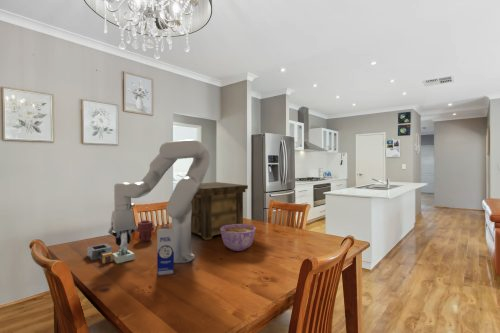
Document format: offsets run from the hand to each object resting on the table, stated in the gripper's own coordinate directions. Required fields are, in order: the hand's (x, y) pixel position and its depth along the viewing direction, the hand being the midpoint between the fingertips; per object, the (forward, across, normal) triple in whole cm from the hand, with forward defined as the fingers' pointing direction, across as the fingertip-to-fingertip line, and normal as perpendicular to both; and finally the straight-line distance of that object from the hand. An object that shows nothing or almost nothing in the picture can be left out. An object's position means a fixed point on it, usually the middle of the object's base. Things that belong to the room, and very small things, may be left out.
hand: (123, 243), depth 133 cm
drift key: (+8, +7, -5) cm, 12 cm away
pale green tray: (+8, 0, 0) cm, 8 cm away
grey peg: (+5, 0, 0) cm, 5 cm away
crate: (+8, -62, -10) cm, 63 cm away
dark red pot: (+8, -21, -23) cm, 32 cm away
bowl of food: (+8, -52, +28) cm, 59 cm away
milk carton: (+8, -8, +29) cm, 31 cm away
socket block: (+8, +7, -14) cm, 17 cm away
